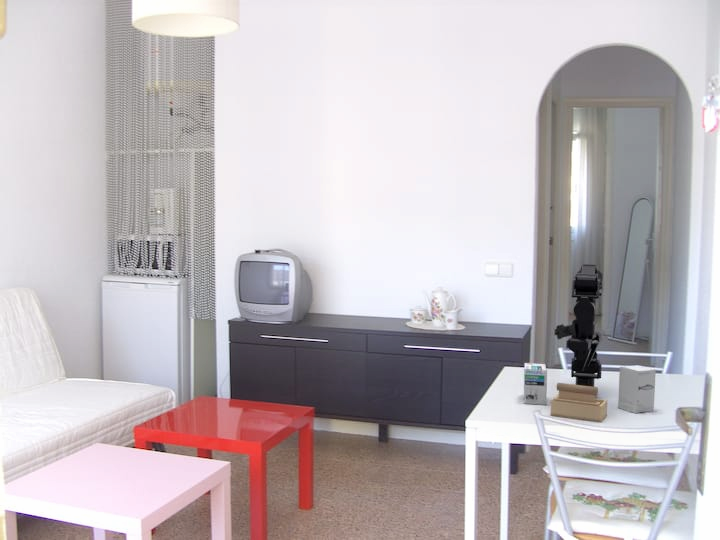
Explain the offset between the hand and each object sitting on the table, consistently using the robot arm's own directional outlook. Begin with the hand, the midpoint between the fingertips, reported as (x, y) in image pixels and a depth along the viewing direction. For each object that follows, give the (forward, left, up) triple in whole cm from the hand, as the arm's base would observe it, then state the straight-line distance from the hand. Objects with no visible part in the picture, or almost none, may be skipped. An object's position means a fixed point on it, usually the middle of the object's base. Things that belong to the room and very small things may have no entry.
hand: (583, 368), depth 225 cm
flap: (+12, +1, -7) cm, 14 cm away
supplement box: (-7, +14, -12) cm, 20 cm away
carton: (+9, +1, -12) cm, 15 cm away
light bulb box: (-2, -15, -12) cm, 19 cm away
